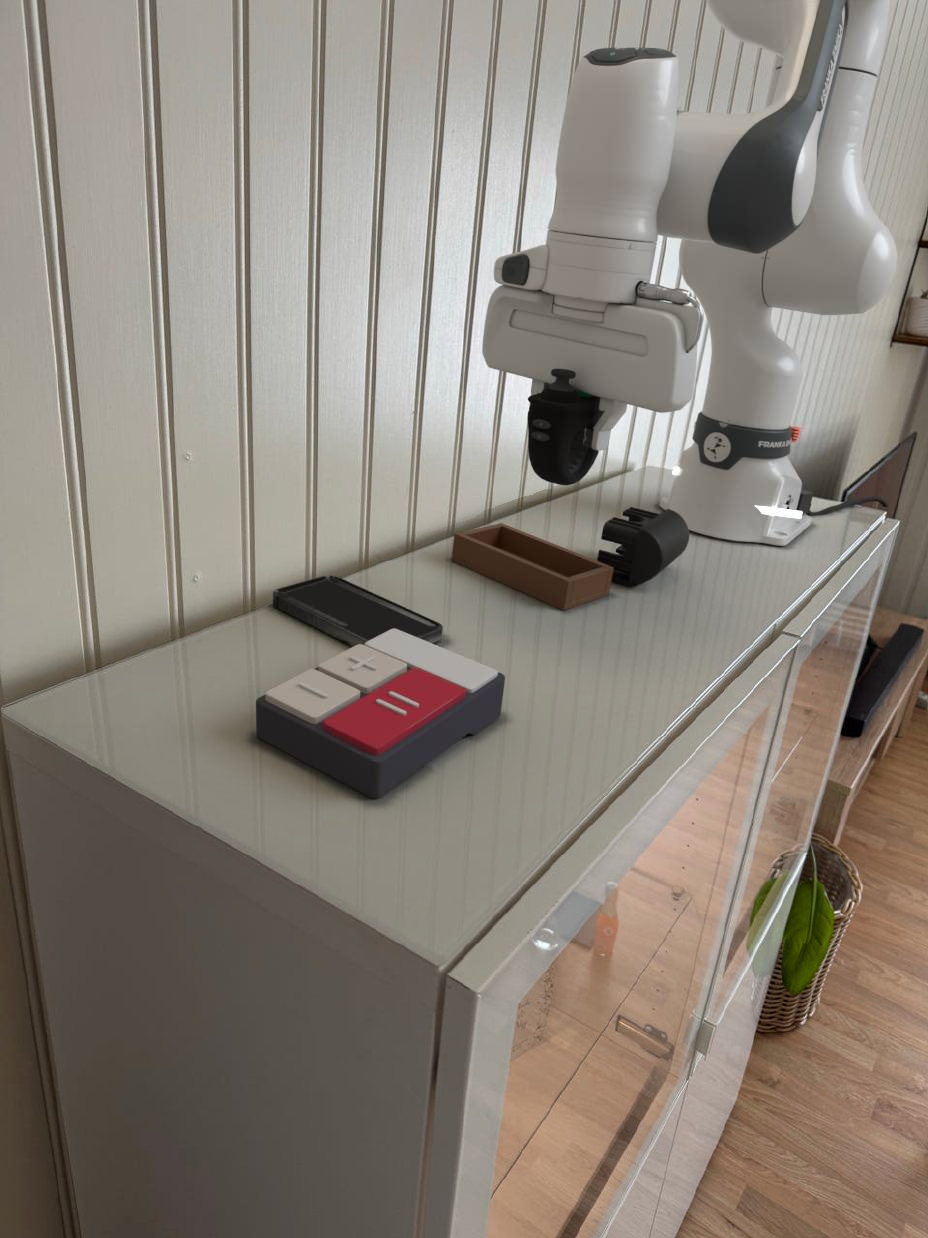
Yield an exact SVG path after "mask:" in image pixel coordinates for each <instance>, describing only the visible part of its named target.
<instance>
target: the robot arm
mask: <svg viewBox="0 0 928 1238" xmlns="http://www.w3.org/2000/svg"><path fill="white" fill-rule="evenodd" d="M706 3H707V5H708V7H709V9H710V11H711V13H712V14H713V16H714V18H715V19H716V21H717V22H718V23H719V24H720V25H721V27H722V28H723V29H724V30H725V31H726V32H728V34H730V35H731V36H732V37H734V38H735V39H737V40H739V41H740V42H742V43H744V44H748V45H751V46H755V47H758V48H761V49H764V50H766V51H769V52H771V53H773V54H775V55H777V57H776V61H775V67H774V71H773V76H772V81H771V85H770V91H769V95H768V99H767V105H766V107H765V108H762V109H759V110H755V111H752V112H748V113H721V112H702V111H688V110H685V109H683V110H681V109H682V106H681V105H679V104H678V103H679V92H680V91H679V89H680V61H679V57H678V56H677V55H676V54H674V53H673V52H672V51H670V50H668V49H663V48H657V47H602V48H597V49H594V50H591V51H589V53H587V54H585V55H583V56H582V57H581V58H580V60H579V61H578V64H577V66H576V69H575V72H574V75H573V77H572V81H571V84H570V88H569V91H568V95H567V100H566V103H565V108H564V113H563V118H562V123H561V129H560V134H559V140H558V148H557V153H556V161H555V180H556V200H555V204H554V209H553V211H552V214H551V215H550V219H549V222H548V226H547V233H546V241H545V244H540V245H537V246H534V247H531V248H527V249H524V250H520V251H517V252H512V253H509V254H505V255H502V256H499V257H498V258H497V259H496V260H495V261H494V266H493V280H494V281H495V283H497V284H499V286H497V287H496V288H495V289H494V290H493V291H492V292H491V295H490V297H489V300H488V304H487V309H486V315H485V319H484V330H483V334H482V335H483V336H482V347H481V348H482V352H481V353H482V357H483V359H484V361H485V364H486V366H487V367H488V368H489V369H493V370H497V371H500V372H505V373H508V374H511V375H516V376H519V377H522V378H527V379H530V380H531V386H530V394H531V396H532V395H535V394H538V393H541V392H542V391H543V390H544V389H545V388H546V387H547V386H549V385H550V384H552V383H553V382H555V381H556V377H554V376H552V375H551V370H552V369H567V370H571V371H574V372H575V373H576V377H575V378H573V379H569V384H570V385H571V386H572V387H573V389H575V390H576V391H580V392H583V393H587V394H591V395H595V396H599V397H600V404H599V410H601V411H604V413H603V415H602V416H601V417H600V419H599V420H598V422H597V423H596V425H595V426H589V427H585V433H584V435H585V438H584V440H583V445H584V447H587V448H590V449H594V450H597V451H599V452H600V451H605V450H607V448H608V447H609V444H610V437H611V432H612V431H611V430H613V429H614V428H615V426H616V425H617V424H618V423H619V421H620V420H621V419H622V417H623V416H624V415H625V414H626V413H627V410H628V409H627V408H628V405H630V406H633V407H637V408H640V409H645V410H649V411H652V412H656V413H660V414H663V413H664V414H666V413H673V412H677V411H681V410H682V409H683V408H684V407H685V406H687V405H688V404H689V403H690V402H691V400H692V399H693V394H694V389H695V382H696V373H697V362H698V342H699V341H700V338H701V334H702V330H703V324H704V319H705V318H706V321H707V324H708V328H709V335H710V345H711V348H710V349H711V353H710V354H711V355H710V363H709V371H708V376H707V377H708V378H707V384H706V389H705V394H704V398H703V399H704V400H703V405H702V409H701V411H700V412H698V413H697V418H696V421H695V422H694V425H693V434H692V439H691V440H692V441H693V443H692V444H691V445H690V446H689V447H687V448H686V449H684V450H683V451H682V453H681V455H680V458H679V461H678V464H677V466H673V469H672V475H674V478H673V481H672V484H671V488H670V492H669V495H668V497H662V498H661V499H660V502H659V507H660V508H661V509H663V510H664V511H665V510H667V509H670V510H673V511H675V512H676V513H678V514H679V515H680V516H681V517H682V518H683V519H684V521H685V522H686V524H687V526H688V530H689V531H691V532H694V533H696V534H701V535H705V536H709V537H712V538H717V539H722V540H727V541H734V542H746V543H760V544H765V545H772V546H780V547H784V546H787V545H788V544H789V543H790V542H792V541H793V540H794V539H796V537H798V536H799V535H800V534H801V533H803V532H804V531H805V530H806V529H807V528H809V527H810V526H811V525H812V519H813V518H812V517H816V516H824V515H827V514H828V513H832V512H834V511H839V510H841V509H844V508H846V507H850V506H852V507H853V506H857V505H861V504H865V503H870V502H877V503H880V505H881V506H882V507H884V508H889V504H888V501H886V500H885V499H884V498H882V497H880V496H866V497H862V498H858V499H853V500H846V501H844V502H841V503H839V504H836V505H831V506H829V507H826V508H823V509H821V510H819V511H816V512H815V511H814V512H813V511H811V507H812V501H813V497H814V492H812V491H810V490H806V489H803V482H802V479H801V478H800V477H799V475H798V473H797V471H796V470H795V468H794V466H793V464H792V462H791V460H790V459H789V455H790V454H791V446H792V443H797V442H798V441H799V439H800V437H801V436H802V435H801V434H802V428H801V427H800V426H793V425H791V421H792V417H793V414H794V409H795V406H796V403H797V402H796V401H797V398H798V394H799V391H800V386H801V383H802V378H803V366H802V362H801V359H800V357H799V356H798V354H797V352H796V351H795V350H794V349H793V348H792V347H791V346H790V345H788V343H786V342H785V340H783V339H781V338H780V337H779V336H778V335H777V334H776V332H775V330H774V327H773V324H772V308H774V309H775V308H776V309H780V310H787V311H788V310H789V311H793V312H799V313H800V312H801V313H807V314H812V315H819V316H843V315H844V316H845V315H856V314H857V315H859V314H861V315H862V314H864V313H866V312H868V311H870V310H871V309H872V308H873V307H875V306H876V305H877V304H878V303H879V302H880V301H881V300H882V299H883V298H884V296H885V295H886V293H887V292H888V291H889V289H890V288H891V285H892V283H893V281H894V279H895V276H896V272H897V267H898V249H897V245H896V241H895V238H894V236H893V234H892V233H891V231H890V229H889V228H888V227H887V226H886V225H885V224H884V222H883V221H882V220H881V219H880V218H879V216H878V215H877V214H876V212H875V210H874V208H873V206H872V204H871V202H870V200H869V197H868V195H867V191H866V188H865V183H864V177H863V176H864V175H863V165H862V164H863V150H864V149H863V148H864V142H865V137H866V131H867V125H868V121H869V115H870V111H871V106H872V101H873V97H874V93H875V88H876V85H877V82H878V78H879V72H880V68H881V64H882V60H883V55H884V50H885V44H886V38H887V31H888V24H889V14H890V4H891V0H706ZM659 236H661V237H664V238H670V239H677V240H681V241H680V245H679V250H678V265H679V269H680V273H681V275H682V276H681V277H682V278H683V280H684V282H685V284H686V285H687V286H688V287H689V289H690V290H691V291H692V292H691V291H689V290H687V289H684V288H679V287H678V288H677V287H676V288H670V287H667V286H664V285H660V284H656V283H651V279H652V273H653V268H654V262H655V257H656V256H655V255H656V250H657V246H658V245H657V244H658V239H659ZM692 293H693V294H694V295H695V297H696V298H695V297H694V296H693V295H692ZM697 299H698V300H697ZM689 304H692V305H689ZM704 314H705V315H704ZM704 317H705V318H704Z"/></svg>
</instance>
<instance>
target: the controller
mask: <svg viewBox="0 0 928 1238" xmlns="http://www.w3.org/2000/svg"><path fill="white" fill-rule="evenodd" d="M551 375H552V376H554V377H556V381H555V382H553V383H552V384H550V385H549V386H547V387H546V388H545V389H544V390H543V391H542V392H541V393H538V394H535V395H532V394H531V395H529V396H528V397H527V400H528V403H530V404H529V407H528V411H527V431H528V432H527V449H528V460H529V462H530V466H531V468H532V470H533V472H534V474H536V476H537V477H539V478H540V479H541V480H543V481H545V482H547V483H551V484H556V485H559V486H570V485H571V486H572V485H575V484H577V483H578V482H580V481H581V480H583V478H584V477H585V476H587V474H588V473H589V472H590V470H591V469H592V467H593V465H594V464H595V462H596V460H597V457H598V455H599V453H600V451H597V450H594V449H590V448H587V447H584V445H583V440H584V438H585V435H584V433H585V427H589V426H595V425H596V423H597V422H598V420H599V419H600V417H601V416H602V415H603V413H604V411H601V410H599V404H600V397H599V396H595V395H591V394H587V393H583V392H580V391H576V390H575V389H573V387H572V386H571V385H570V384H569V379H573V378H575V377H576V373H575V372H574V371H571V370H567V369H552V370H551Z"/></svg>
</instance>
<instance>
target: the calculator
mask: <svg viewBox="0 0 928 1238" xmlns="http://www.w3.org/2000/svg"><path fill="white" fill-rule="evenodd" d="M505 681H506V676H505V674H504V673H502V672H500V671H498V670H497V669H495V668H493V667H490V666H487V665H485V664H483V663H480V662H478V661H475V660H474V659H470V658H468V657H465V656H463V655H460V654H458V653H456V652H453V651H451V650H449V649H447V648H444V647H441V646H439V645H436V644H435V643H434V644H432V643H429V642H427V641H425V640H422V639H420V638H417V637H415V636H413V635H410V634H408V633H405V632H403V631H400V630H398V629H390V630H389V631H387V632H385V633H383V634H381V635H379V636H377V637H375V638H373V639H371V640H369V641H367V642H365V643H363V644H358V645H356V646H354V647H353V646H351V647H349V648H348V649H346V650H344V651H342V652H340V653H338V654H336V655H335V656H333V657H331V658H328V659H326V660H325V661H323V662H321V663H318V666H317V667H315V668H310V669H307V670H305V671H303V672H301V673H300V674H297V675H295V676H293V677H291V678H290V679H287V680H286V681H283V682H282V683H280V684H277V685H276V686H274V687H272V688H270V689H268V690H267V691H266V692H265V693H264V694H263V695H261V696H259V697H258V698H257V699H256V700H255V732H256V733H255V735H256V737H257V738H259V739H260V740H262V741H263V742H267V743H268V744H270V745H271V746H273V747H275V748H277V749H278V750H281V751H282V752H285V753H287V754H289V755H290V756H292V757H294V758H296V759H297V760H300V761H301V762H303V763H305V764H307V765H309V766H311V767H312V768H315V769H316V770H318V771H320V772H322V773H324V774H326V775H328V776H330V777H331V778H333V779H335V780H337V781H339V782H341V783H343V784H344V785H346V786H348V787H349V788H352V789H354V790H356V791H357V792H358V793H361V794H363V795H365V796H367V797H369V798H372V799H379V798H381V797H383V796H384V795H385V794H386V793H388V792H390V791H391V790H392V789H394V788H395V787H396V786H398V785H399V784H401V782H403V781H405V780H406V779H407V778H409V777H410V776H412V775H413V774H414V773H415V772H417V771H419V770H420V768H422V767H424V766H426V765H427V764H428V763H429V762H430V761H433V759H435V758H436V757H438V756H439V755H441V754H442V753H443V752H444V751H446V750H447V749H449V748H450V747H451V746H452V745H454V744H456V743H457V742H458V741H459V740H461V739H462V738H465V736H467V735H468V734H469V735H474V736H475V735H477V734H478V733H480V732H481V731H482V730H484V729H485V728H486V727H488V726H489V725H490V724H491V723H494V722H495V721H496V720H497V719H499V718H500V717H501V713H502V707H503V698H504V691H505V690H504V689H505Z"/></svg>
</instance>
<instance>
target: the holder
mask: <svg viewBox="0 0 928 1238" xmlns="http://www.w3.org/2000/svg"><path fill="white" fill-rule="evenodd" d="M451 551H452V552H451V561H452V562H455V563H456V564H459V565H461V566H463V567H466V568H468V569H470V570H472V571H475V572H477V573H479V574H482V575H484V576H485V577H488V578H490V579H493V580H495V581H497V582H499V583H501V584H504V585H505V586H508V587H510V588H513V589H514V590H516V591H519V592H522V593H524V594H526V595H528V596H530V597H533V598H534V599H537V600H539V601H542V602H544V603H546V604H548V605H551V606H553V607H555V608H557V609H558V610H559V609H560V610H562V611H566V610H569V609H572V608H576V607H578V606H581V605H584V604H587V603H589V602H592V601H595V600H599V599H601V598H604V597H607V596H609V594H610V589H611V584H612V582H611V580H612V574H613V569H614V567H611V566H609V565H606V564H604V563H601V562H599V561H597V559H594V558H591V557H588V556H587V555H583V554H581V553H579V552H576V551H573V550H570V549H568V548H566V547H563V546H561V545H558V544H556V543H553V542H551V541H548V540H545V539H543V538H541V537H538V536H535V535H533V534H530V533H528V532H525V531H523V530H520V529H517V528H515V527H512V526H511V525H507V524H505V523H502V522H499V523H496V524H492V525H487V526H483V527H482V526H481V527H478V528H474V529H473V528H472V529H469V530H464V531H461V532H455V533H454V535H453V543H452V550H451Z"/></svg>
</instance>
